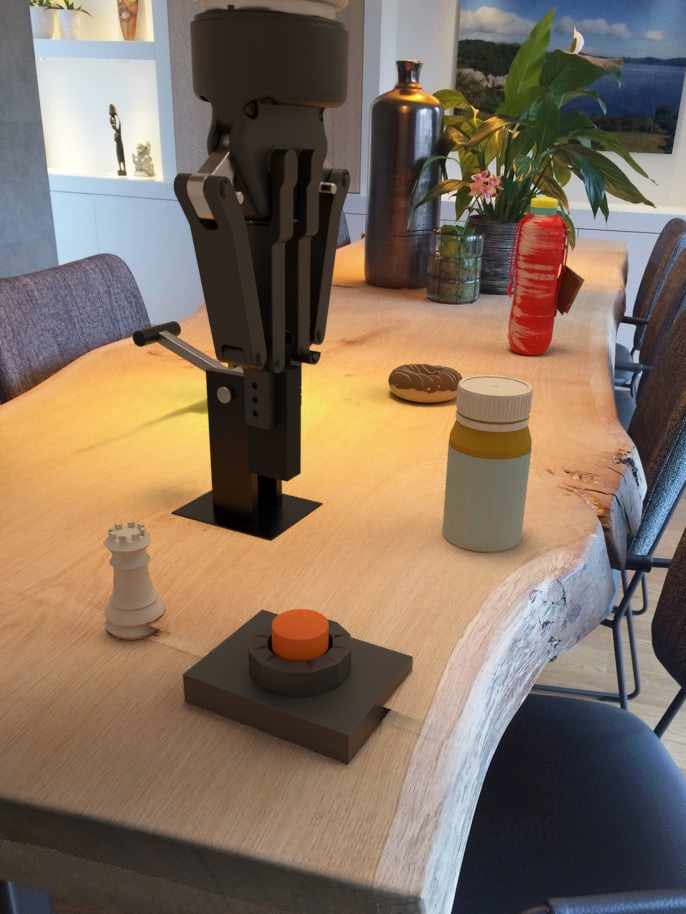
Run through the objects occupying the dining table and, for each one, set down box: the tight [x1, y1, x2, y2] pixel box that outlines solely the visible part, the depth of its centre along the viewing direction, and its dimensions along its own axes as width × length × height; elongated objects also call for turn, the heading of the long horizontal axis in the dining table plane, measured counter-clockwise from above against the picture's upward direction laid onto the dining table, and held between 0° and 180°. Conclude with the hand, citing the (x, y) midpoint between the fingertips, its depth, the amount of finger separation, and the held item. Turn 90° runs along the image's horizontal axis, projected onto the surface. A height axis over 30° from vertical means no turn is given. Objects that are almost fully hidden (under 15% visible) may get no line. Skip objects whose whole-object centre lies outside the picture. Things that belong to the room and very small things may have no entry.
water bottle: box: [506, 196, 585, 356], centre depth 137 cm, size 12×8×25 cm, turn 91°
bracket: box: [170, 365, 324, 542], centre depth 75 cm, size 11×9×15 cm
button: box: [272, 608, 329, 661], centre depth 53 cm, size 4×4×2 cm
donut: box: [387, 363, 463, 404], centre depth 116 cm, size 11×11×4 cm
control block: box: [182, 609, 414, 765], centre depth 54 cm, size 12×9×4 cm
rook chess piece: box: [103, 520, 166, 641], centre depth 60 cm, size 4×4×8 cm
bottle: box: [441, 374, 534, 554], centre depth 72 cm, size 7×7×15 cm
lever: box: [132, 320, 243, 373], centre depth 74 cm, size 12×5×2 cm, turn 63°
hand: (274, 472), depth 49 cm, fingers closed
